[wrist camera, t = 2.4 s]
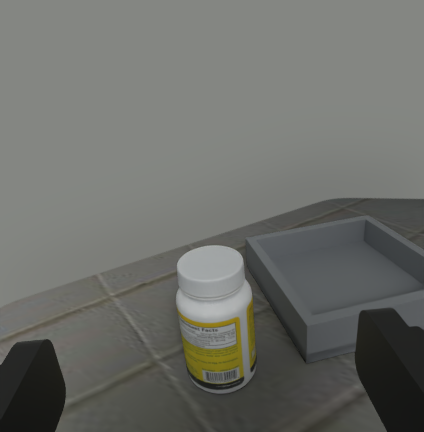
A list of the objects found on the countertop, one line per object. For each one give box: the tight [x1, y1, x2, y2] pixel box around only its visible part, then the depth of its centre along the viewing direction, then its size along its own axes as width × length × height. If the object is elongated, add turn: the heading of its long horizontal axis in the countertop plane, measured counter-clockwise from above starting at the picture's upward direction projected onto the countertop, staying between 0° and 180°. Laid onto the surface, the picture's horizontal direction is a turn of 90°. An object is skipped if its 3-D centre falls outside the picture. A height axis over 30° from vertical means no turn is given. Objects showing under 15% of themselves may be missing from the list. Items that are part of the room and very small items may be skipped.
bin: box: [245, 215, 424, 364], centre depth 31 cm, size 13×13×3 cm
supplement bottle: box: [176, 245, 257, 394], centre depth 23 cm, size 5×5×8 cm
